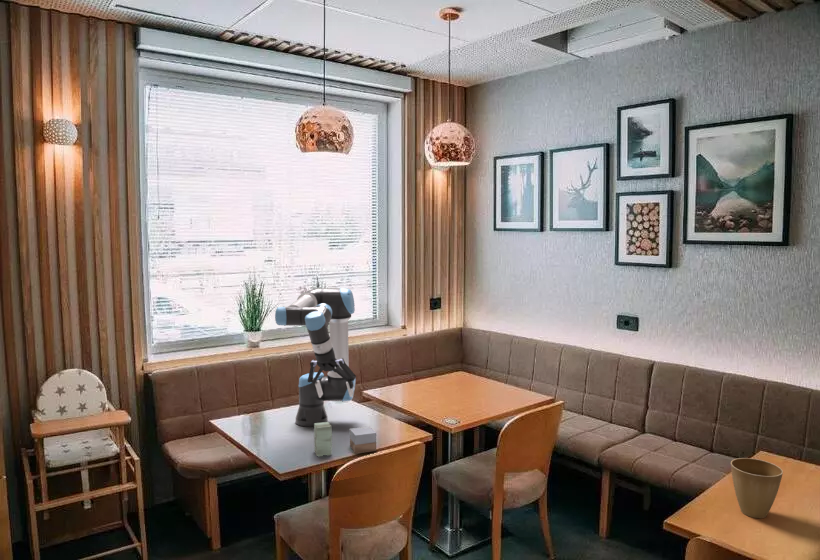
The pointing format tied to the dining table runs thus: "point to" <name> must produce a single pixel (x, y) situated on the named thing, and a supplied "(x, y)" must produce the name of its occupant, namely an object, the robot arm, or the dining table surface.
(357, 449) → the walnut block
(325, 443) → the sage block
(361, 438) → the slate block
